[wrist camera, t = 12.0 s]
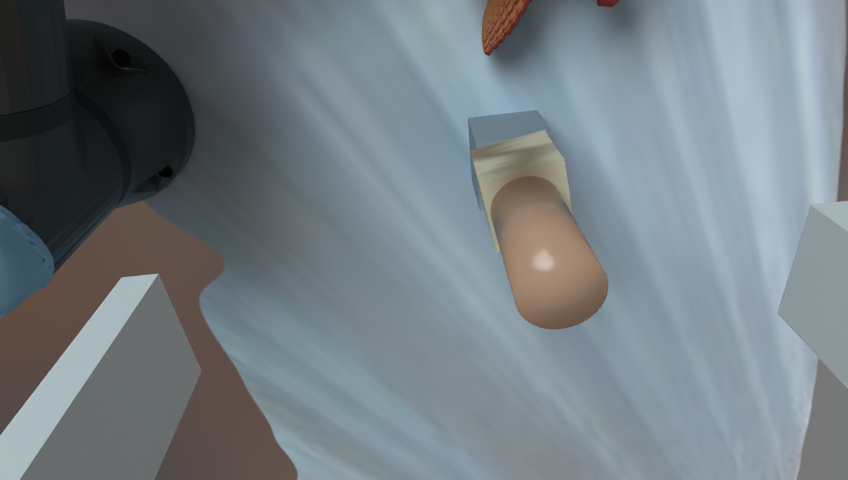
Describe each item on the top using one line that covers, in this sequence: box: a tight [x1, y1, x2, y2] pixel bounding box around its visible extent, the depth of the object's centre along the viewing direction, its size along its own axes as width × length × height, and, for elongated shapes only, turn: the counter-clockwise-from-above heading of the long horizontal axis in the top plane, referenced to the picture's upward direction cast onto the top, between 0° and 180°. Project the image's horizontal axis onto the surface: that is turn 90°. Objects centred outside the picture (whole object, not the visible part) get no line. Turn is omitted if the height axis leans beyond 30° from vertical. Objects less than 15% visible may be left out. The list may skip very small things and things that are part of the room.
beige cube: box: [470, 130, 573, 252], centre depth 41 cm, size 6×6×6 cm
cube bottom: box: [468, 110, 552, 210], centre depth 46 cm, size 6×6×6 cm
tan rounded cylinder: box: [490, 176, 608, 329], centre depth 34 cm, size 5×5×10 cm
